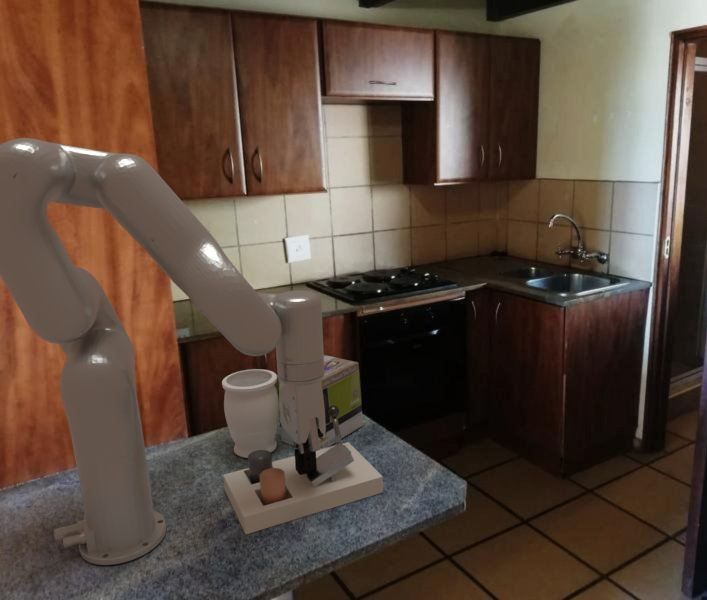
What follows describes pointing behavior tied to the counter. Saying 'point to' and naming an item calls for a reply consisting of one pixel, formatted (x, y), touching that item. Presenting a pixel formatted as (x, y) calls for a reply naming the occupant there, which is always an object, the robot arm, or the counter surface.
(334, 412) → the toggle lever
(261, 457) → the black button
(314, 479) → the rocker
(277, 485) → the terracotta button
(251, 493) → the panel
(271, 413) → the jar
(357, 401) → the tea box
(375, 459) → the counter surface
